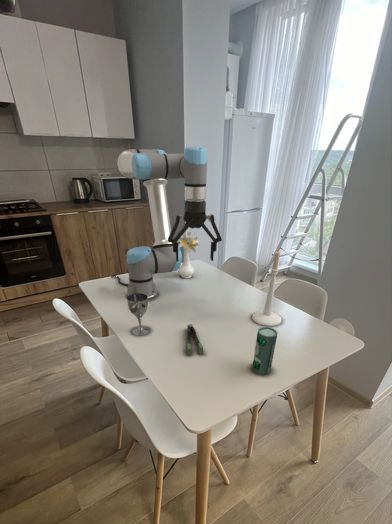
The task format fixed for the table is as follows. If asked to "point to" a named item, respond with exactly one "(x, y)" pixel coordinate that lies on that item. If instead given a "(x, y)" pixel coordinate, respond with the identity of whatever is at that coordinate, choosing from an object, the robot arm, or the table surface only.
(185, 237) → the flower vase
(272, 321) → the candlestick
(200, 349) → the tongs
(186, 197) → the robot arm
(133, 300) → the wine glass
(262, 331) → the can
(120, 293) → the table surface
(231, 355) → the table surface
